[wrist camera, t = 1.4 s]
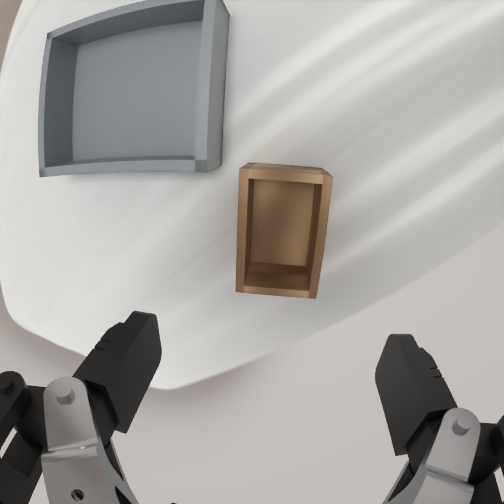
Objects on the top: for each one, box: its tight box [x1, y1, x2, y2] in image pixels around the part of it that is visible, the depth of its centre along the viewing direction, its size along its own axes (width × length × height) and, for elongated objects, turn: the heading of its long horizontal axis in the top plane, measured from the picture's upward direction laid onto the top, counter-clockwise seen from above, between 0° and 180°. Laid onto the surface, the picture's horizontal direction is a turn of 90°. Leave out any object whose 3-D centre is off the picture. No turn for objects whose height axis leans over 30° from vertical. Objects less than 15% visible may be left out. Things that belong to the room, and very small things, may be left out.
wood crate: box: [236, 163, 332, 299], centre depth 22 cm, size 6×9×5 cm, turn 177°
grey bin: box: [38, 0, 230, 177], centre depth 19 cm, size 16×14×5 cm
